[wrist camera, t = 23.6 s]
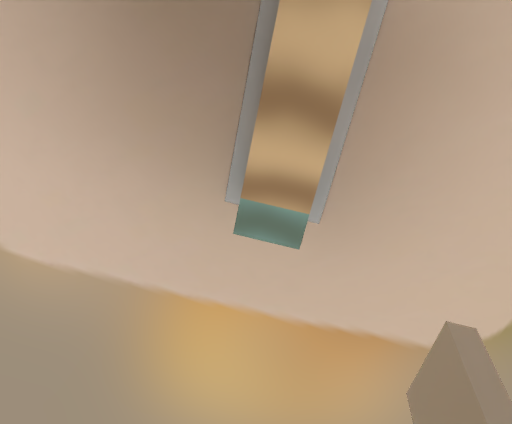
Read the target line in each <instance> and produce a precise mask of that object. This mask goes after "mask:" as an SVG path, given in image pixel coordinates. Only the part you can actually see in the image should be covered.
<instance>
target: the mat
mask: <svg viewBox="0 0 512 424" xmlns="http://www.w3.org/2000/svg"><path fill="white" fill-rule="evenodd" d="M279 2H280V0H261V4H260V10H259V15H258V21H257V26H256V32H255V37H254V43H253V48H252V54H251V59H250V65H249V70H248V76H247V81H246V87H245V92H244V98H243V103H242V109H241V114H240V120H239V126H238V131H237V137H236V142H235V148H234V153H233V159H232V164H231V170H230V175H229V181H228V186H227V192H226V197H225V201H226V202H230V203H234V204H238V205H239V203H240V197H241V192H242V187H243V182H244V177H245V172H246V167H247V162H248V157H249V152H250V147H251V142H252V137H253V132H254V127H255V122H256V117H257V112H258V107H259V102H260V97H261V92H262V87H263V82H264V77H265V72H266V67H267V62H268V57H269V52H270V47H271V42H272V37H273V32H274V27H275V22H276V17H277V12H278V7H279ZM387 3H388V0H372V2H371V6H370V9H369V13H368V16H367V19H366V23H365V26H364V30H363V33H362V37H361V40H360V43H359V47H358V50H357V54H356V57H355V60H354V64H353V67H352V71H351V74H350V77H349V81H348V84H347V88H346V91H345V95H344V98H343V101H342V105H341V108H340V112H339V115H338V118H337V122H336V125H335V129H334V132H333V136H332V139H331V142H330V146H329V149H328V153H327V156H326V159H325V163H324V166H323V170H322V173H321V177H320V180H319V183H318V187H317V190H316V194H315V197H314V200H313V204H312V207H311V211H310V214H309V218H308V221H309V222H313V223H318V224H319V222H320V219H321V216H322V213H323V210H324V206H325V203H326V200H327V197H328V193H329V190H330V187H331V184H332V181H333V177H334V174H335V171H336V168H337V164H338V161H339V158H340V155H341V152H342V148H343V145H344V142H345V139H346V135H347V132H348V129H349V126H350V123H351V119H352V116H353V113H354V110H355V106H356V103H357V100H358V97H359V94H360V90H361V87H362V84H363V81H364V77H365V74H366V71H367V68H368V65H369V61H370V58H371V55H372V52H373V48H374V45H375V42H376V39H377V36H378V32H379V29H380V26H381V23H382V19H383V16H384V13H385V10H386V7H387Z"/></svg>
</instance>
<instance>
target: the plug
mask: <svg viewBox="0 0 512 424" xmlns="http://www.w3.org/2000/svg"><path fill="white" fill-rule="evenodd" d="M371 2H372V0H280V2H279V7H278V12H277V17H276V22H275V27H274V32H273V37H272V42H271V47H270V52H269V57H268V62H267V67H266V72H265V77H264V82H263V87H262V92H261V97H260V102H259V107H258V112H257V117H256V122H255V127H254V132H253V137H252V142H251V147H250V152H249V157H248V162H247V167H246V172H245V177H244V182H243V187H242V192H241V197H240V203H239V208H238V213H237V218H236V223H235V228H234V233H233V234H237V235H241V236H245V237H249V238H253V239H258V240H262V241H266V242H270V243H274V244H278V245H283V246H287V247H291V248H295V249H299V248H300V245H301V241H302V238H303V235H304V231H305V228H306V224H307V221H308V218H309V214H310V211H311V207H312V204H313V200H314V197H315V194H316V190H317V187H318V183H319V180H320V177H321V173H322V170H323V166H324V163H325V159H326V156H327V153H328V149H329V146H330V142H331V139H332V136H333V132H334V129H335V125H336V122H337V118H338V115H339V112H340V108H341V105H342V101H343V98H344V95H345V91H346V88H347V84H348V81H349V77H350V74H351V71H352V67H353V64H354V60H355V57H356V54H357V50H358V47H359V43H360V40H361V37H362V33H363V30H364V26H365V23H366V19H367V16H368V13H369V9H370V6H371Z"/></svg>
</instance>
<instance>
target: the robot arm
mask: <svg viewBox="0 0 512 424" xmlns="http://www.w3.org/2000/svg"><path fill="white" fill-rule="evenodd" d="M406 394H407V398H408V402H409V407H410V412H411V416H412V420H413V424H512V401H511V399H510V397H509V395H508V393H507V391H506V389H505V387H504V385H503V383H502V381H501V379H500V377H499V375H498V372H497V370H496V368H495V366H494V364H493V362H492V360H491V358H490V356H489V354H488V352H487V350H486V348H485V346H484V344H483V342H482V340H481V337H480V335H479V333H478V331H477V329H476V328H472V327H468V326H463V325H459V324H455V323H451V322H447V321H446V322H445V324H444V326H443V328H442V330H441V331H440V333H439V335H438V337H437V339H436V341H435V342H434V344H433V346H432V348H431V350H430V352H429V353H428V355H427V357H426V359H425V361H424V363H423V364H422V366H421V368H420V370H419V372H418V374H417V375H416V377H415V379H414V381H413V383H412V384H411V386H410V388H409V390H408V392H407V393H406Z"/></svg>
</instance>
